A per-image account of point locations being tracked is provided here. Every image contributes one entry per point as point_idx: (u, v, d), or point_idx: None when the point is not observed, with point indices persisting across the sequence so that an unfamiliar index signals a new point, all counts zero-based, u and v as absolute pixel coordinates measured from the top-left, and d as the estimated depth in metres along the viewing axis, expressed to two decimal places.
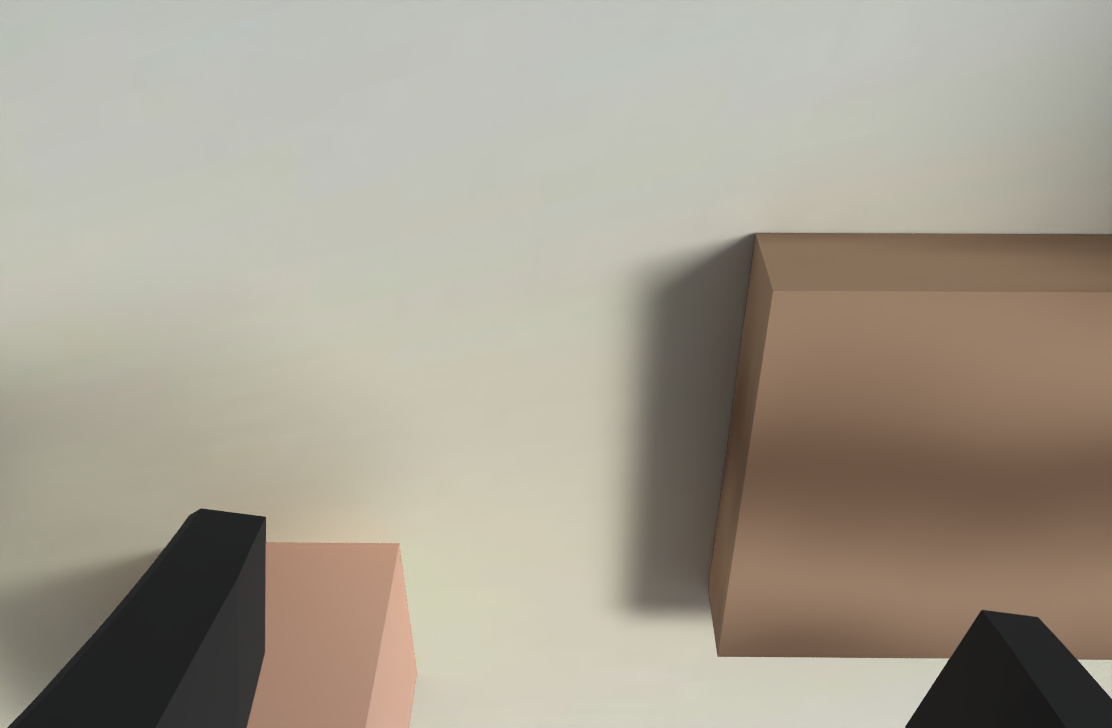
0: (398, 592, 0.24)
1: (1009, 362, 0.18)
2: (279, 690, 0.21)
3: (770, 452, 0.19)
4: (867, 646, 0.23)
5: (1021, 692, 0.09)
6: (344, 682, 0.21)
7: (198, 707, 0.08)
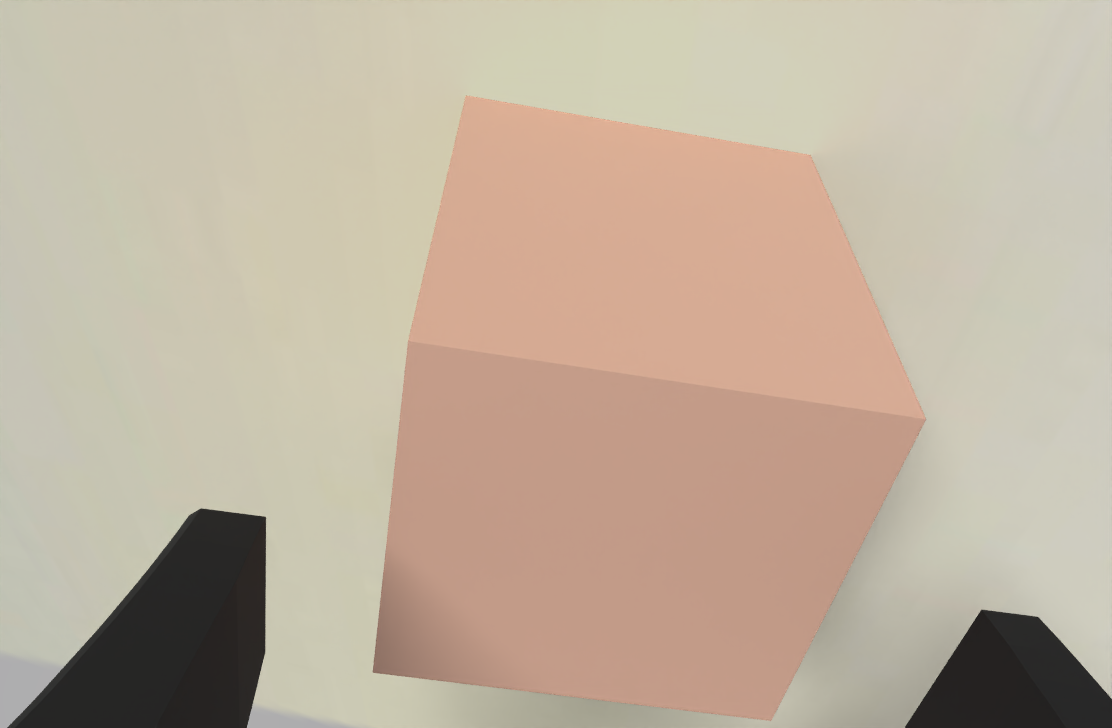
0: (524, 127, 0.13)
1: None
2: None
3: None
4: None
5: (1021, 692, 0.09)
6: None
7: (198, 707, 0.08)
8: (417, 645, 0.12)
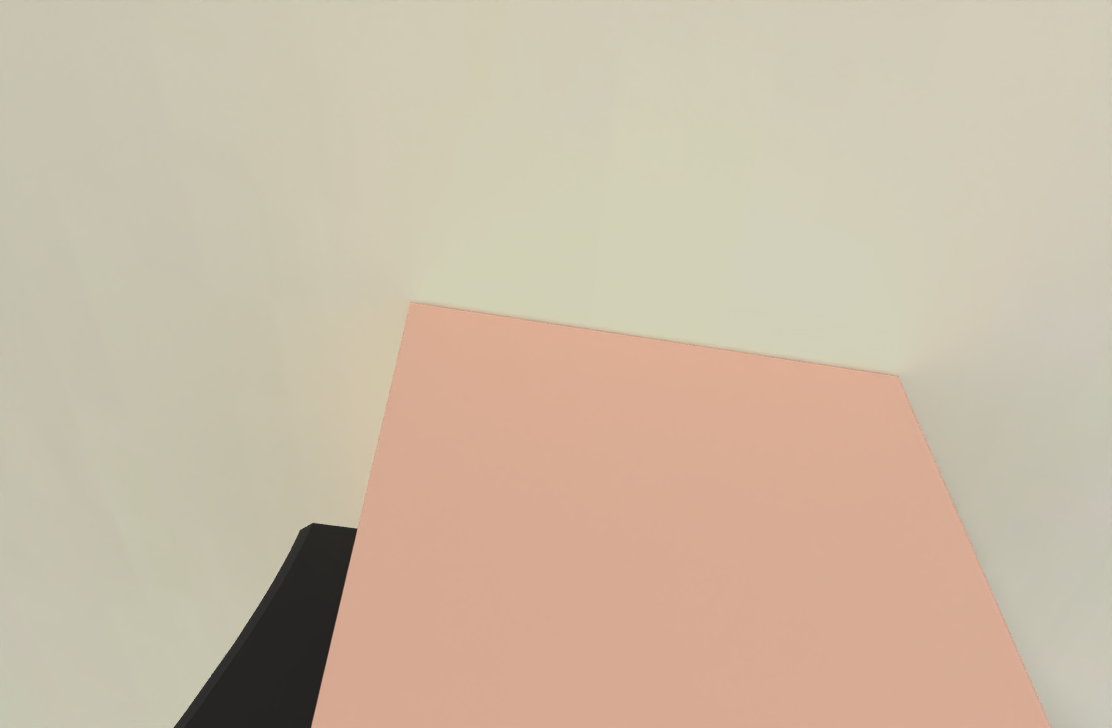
0: (493, 363, 0.09)
1: None
2: None
3: None
4: None
5: None
6: None
7: None
8: None
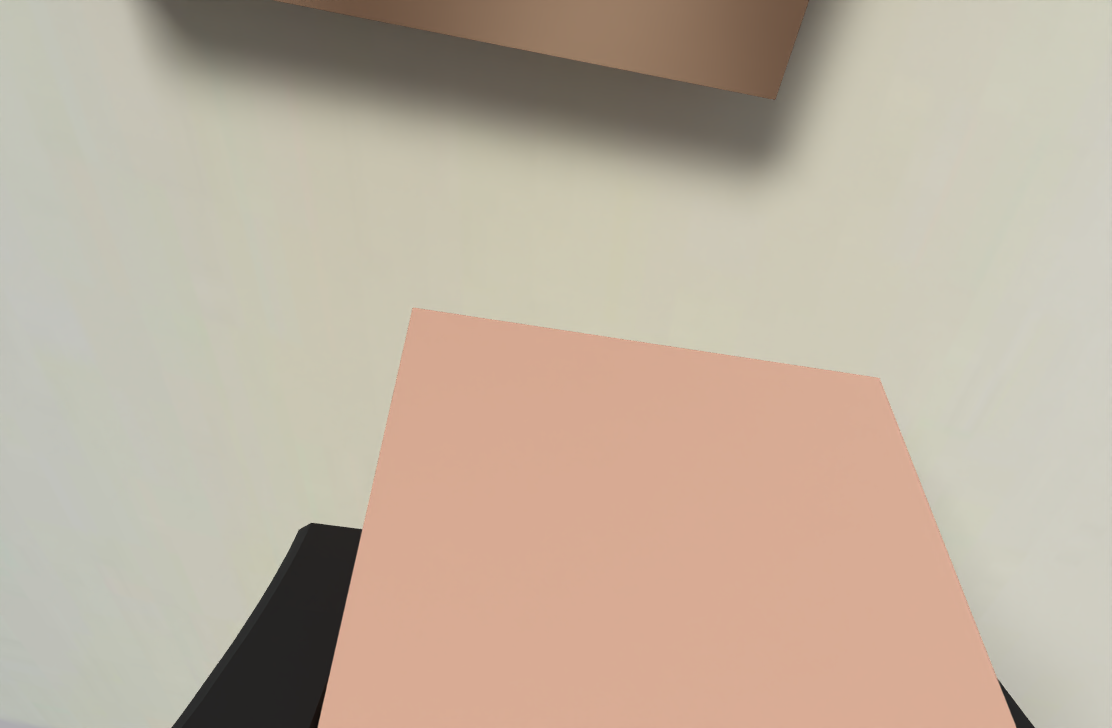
0: (491, 367, 0.10)
1: None
2: None
3: None
4: None
5: None
6: None
7: None
8: None
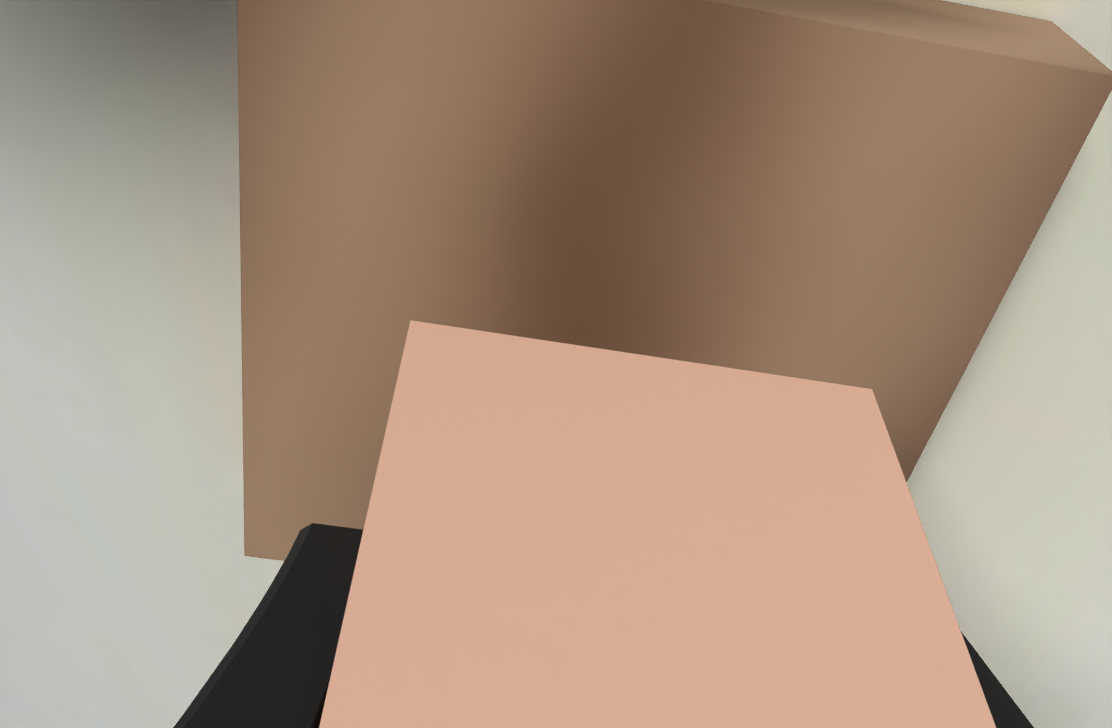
0: (488, 381, 0.10)
1: (351, 353, 0.14)
2: None
3: None
4: None
5: None
6: None
7: None
8: None
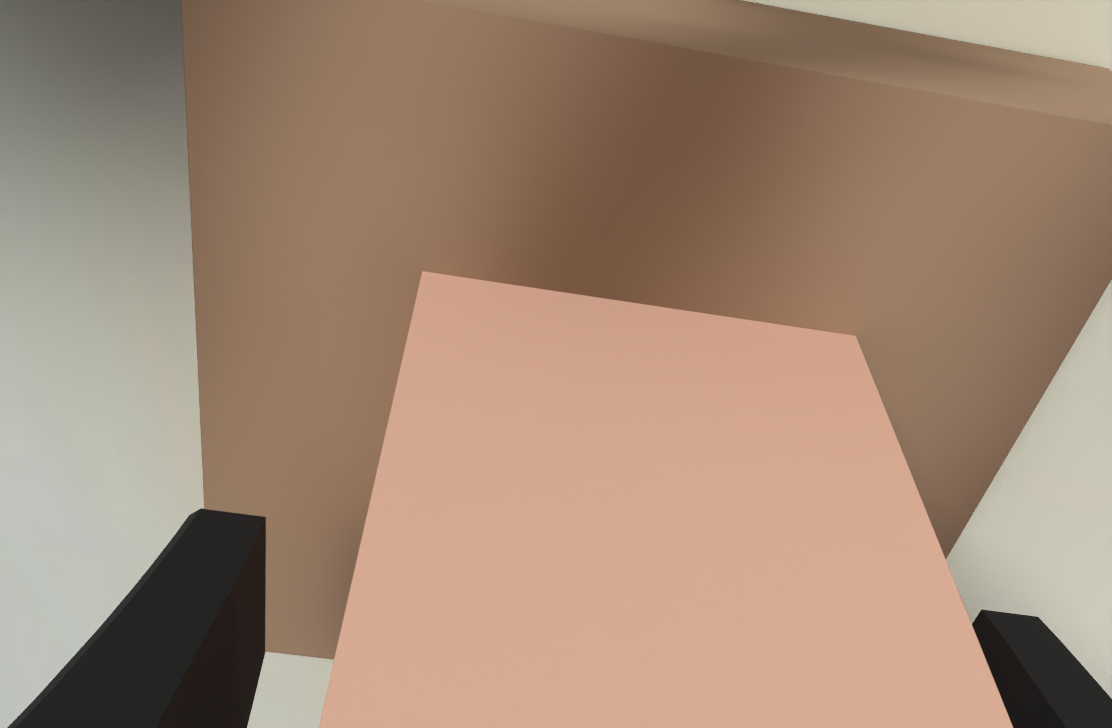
0: (495, 323, 0.11)
1: (323, 436, 0.13)
2: None
3: None
4: None
5: (1021, 692, 0.09)
6: None
7: (198, 707, 0.08)
8: None
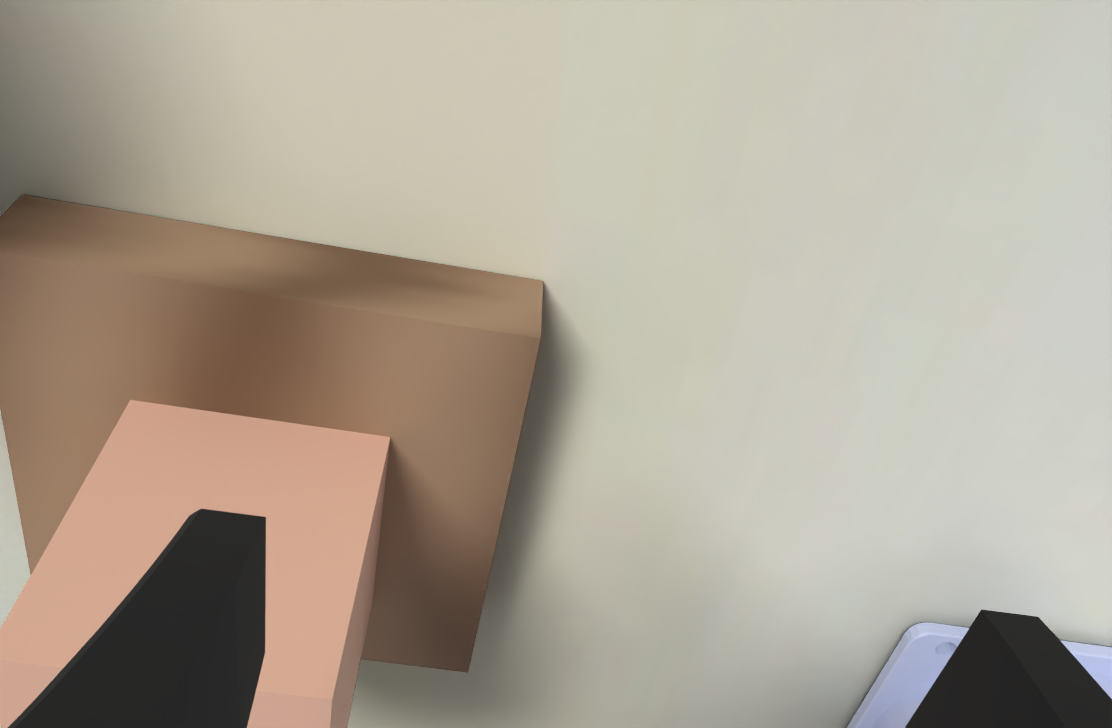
0: (162, 433, 0.19)
1: None
2: None
3: None
4: (469, 577, 0.22)
5: (1021, 692, 0.09)
6: None
7: (198, 707, 0.08)
8: None
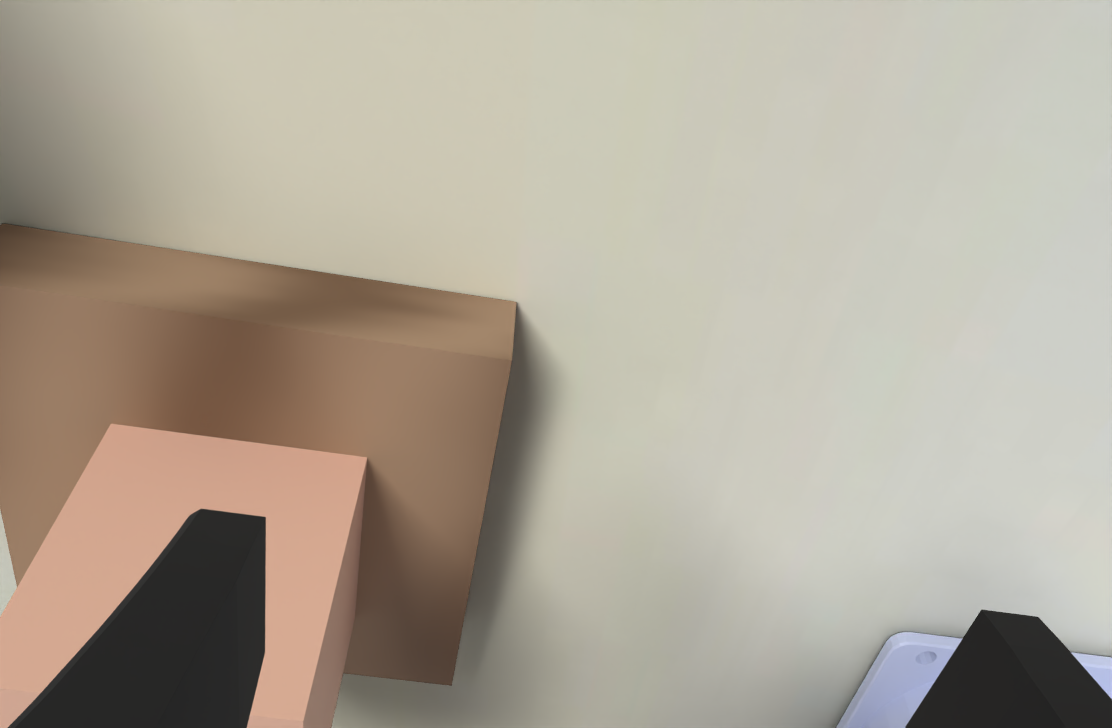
0: (142, 456, 0.19)
1: None
2: None
3: None
4: (450, 592, 0.22)
5: (1021, 692, 0.09)
6: None
7: (198, 707, 0.08)
8: None
